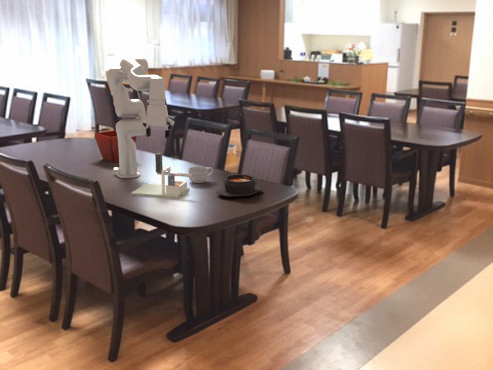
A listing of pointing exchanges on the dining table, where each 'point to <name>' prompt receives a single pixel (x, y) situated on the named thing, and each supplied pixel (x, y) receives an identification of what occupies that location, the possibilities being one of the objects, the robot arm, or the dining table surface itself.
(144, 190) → the cream platform with frame
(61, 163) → the dining table surface
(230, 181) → the casserole
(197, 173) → the teacup
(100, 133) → the plant pot
